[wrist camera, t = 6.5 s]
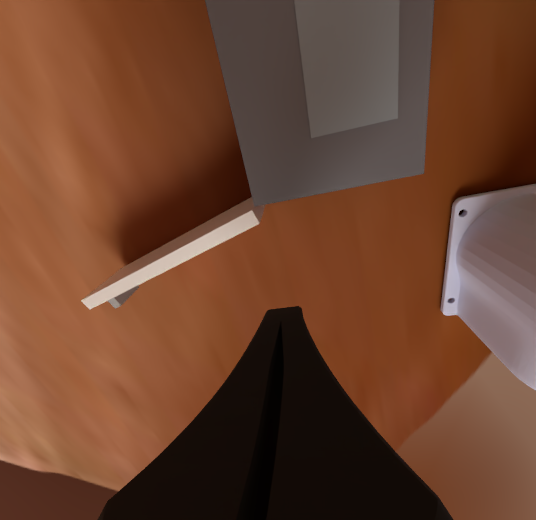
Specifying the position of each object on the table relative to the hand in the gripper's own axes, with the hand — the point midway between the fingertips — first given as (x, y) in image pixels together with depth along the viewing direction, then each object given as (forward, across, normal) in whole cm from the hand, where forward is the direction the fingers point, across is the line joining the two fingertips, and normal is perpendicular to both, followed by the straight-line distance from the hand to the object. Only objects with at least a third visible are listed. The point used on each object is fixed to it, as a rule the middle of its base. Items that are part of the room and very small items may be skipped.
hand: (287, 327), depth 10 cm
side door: (+9, +7, -1) cm, 12 cm away
